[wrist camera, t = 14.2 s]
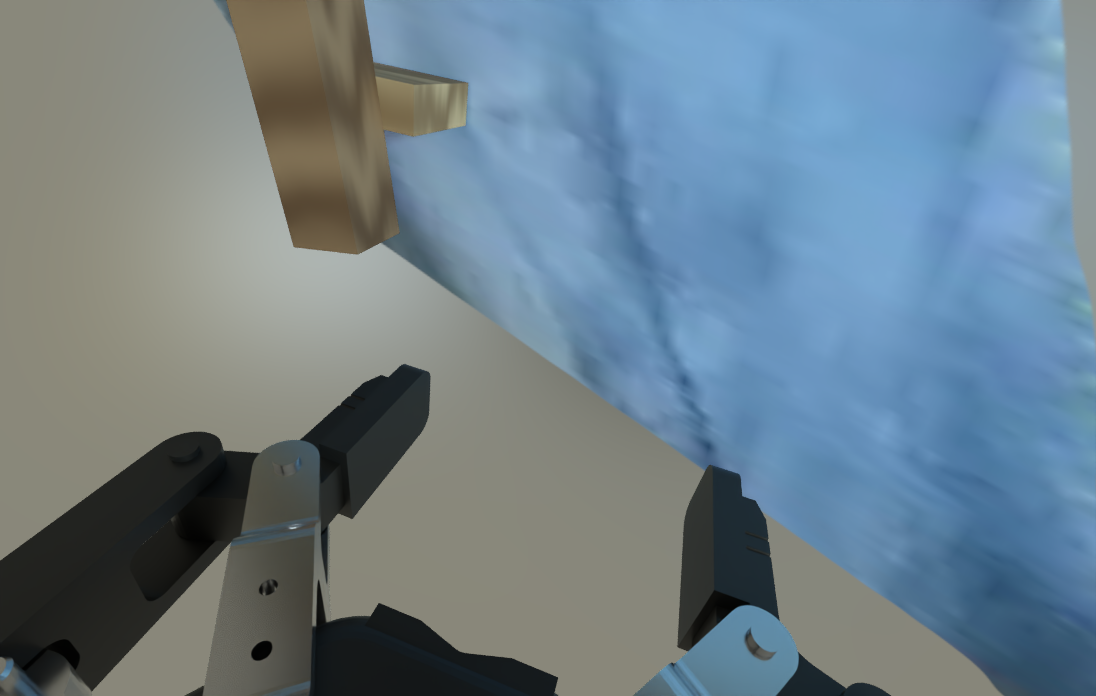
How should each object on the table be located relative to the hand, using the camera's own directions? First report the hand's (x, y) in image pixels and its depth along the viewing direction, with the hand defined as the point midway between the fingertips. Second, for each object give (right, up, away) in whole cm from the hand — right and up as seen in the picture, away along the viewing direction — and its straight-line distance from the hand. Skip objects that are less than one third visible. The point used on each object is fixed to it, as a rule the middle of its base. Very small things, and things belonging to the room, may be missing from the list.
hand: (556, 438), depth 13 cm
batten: (-14, +19, +18) cm, 29 cm away
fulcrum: (-11, +23, +24) cm, 35 cm away
